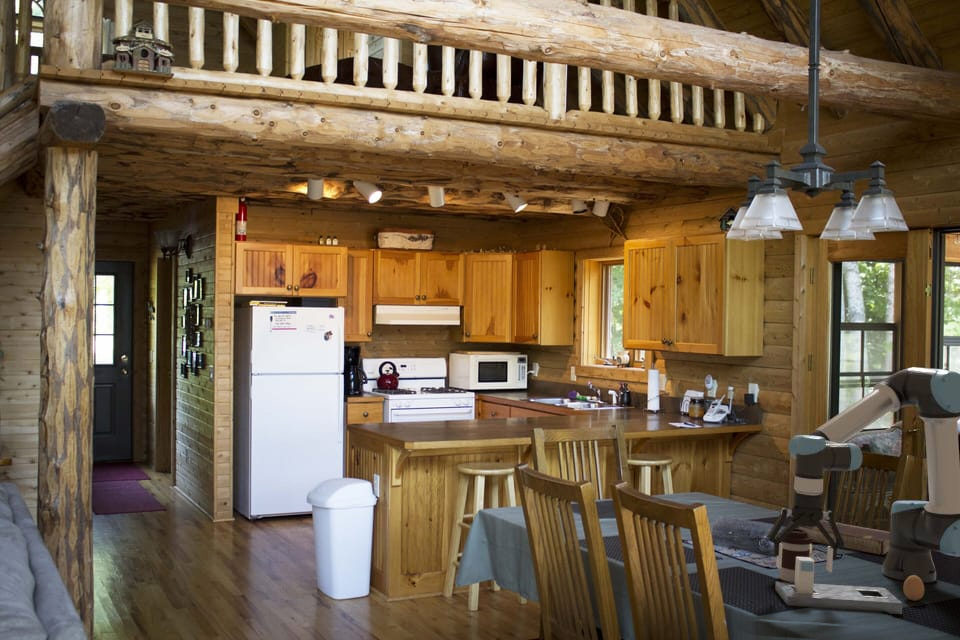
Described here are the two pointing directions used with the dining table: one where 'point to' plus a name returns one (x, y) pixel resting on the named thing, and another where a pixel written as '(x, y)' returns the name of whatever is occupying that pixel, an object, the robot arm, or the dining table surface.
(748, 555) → the dining table surface
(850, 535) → the hardback book
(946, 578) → the dining table surface
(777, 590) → the panel
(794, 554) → the coffee cup
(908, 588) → the egg
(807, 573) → the plug
